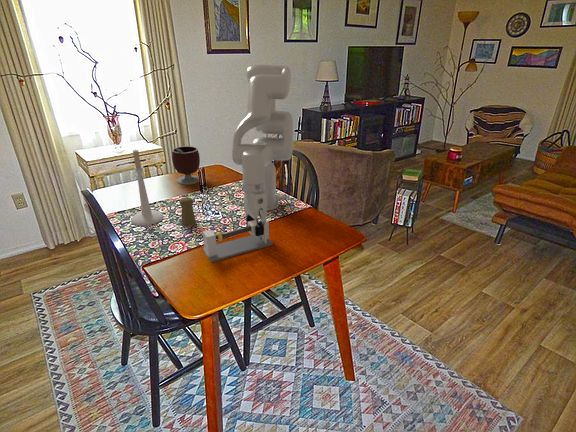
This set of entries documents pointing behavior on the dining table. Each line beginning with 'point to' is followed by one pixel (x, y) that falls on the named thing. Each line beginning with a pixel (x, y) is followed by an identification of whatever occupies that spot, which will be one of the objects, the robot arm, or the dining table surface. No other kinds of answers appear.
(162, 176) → the dining table surface
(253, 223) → the sleeve
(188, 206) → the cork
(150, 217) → the candlestick
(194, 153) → the mate gourd
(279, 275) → the dining table surface
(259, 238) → the grey rod stand
